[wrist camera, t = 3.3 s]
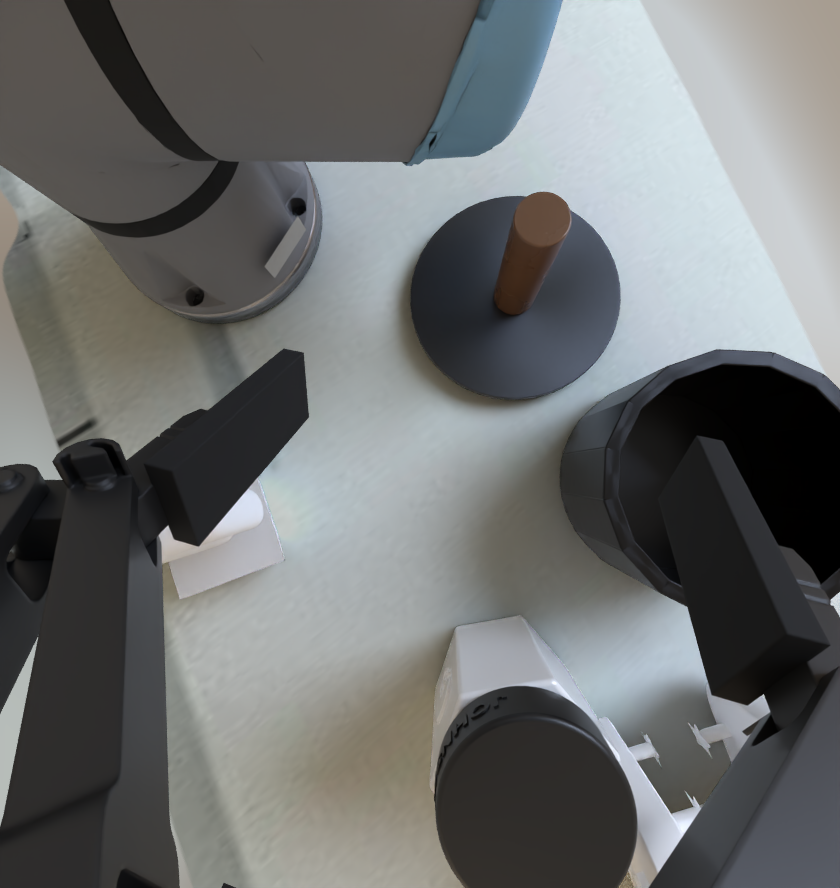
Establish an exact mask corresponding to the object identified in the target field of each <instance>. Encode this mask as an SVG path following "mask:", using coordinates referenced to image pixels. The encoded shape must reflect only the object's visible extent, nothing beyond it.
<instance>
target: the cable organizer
mask: <svg viewBox="0 0 840 888" xmlns="http://www.w3.org/2000/svg"><path fill="white" fill-rule="evenodd" d="M706 693H707V698H708V701H709V704H710V707H711V710H712V712H713V715H714V718H715V720H716V723H717V725H714V726H711V727H708V728H704V729H701V730H698V728H697V727H696V725H695V724H694V728H693V727H692V726H691V725H690V724H689V723H688V722H687V723H688V724H689V726H690V728H691V729H692V731H693V733H694V734H695V736H696V739H697V743H698V744H700V745H701V746H703V747H704V749H705V750H706V751H707V753H708V754H709V755H710V757H711V758H712V756H711V754H710V752H709V750H708V748H711V746H710V745H709V744H710V743H713V742H717V741H720V740H723V742H724V744H725V747H726V750H727V752H728V755H729V757H730V760H731V763H732V761H733V760H734V758H735V757H736V755H737V754H738V752H739V751H740V749H741V748H742V746H743V745H744V743H745V742H746V740H747V739H748V737H749V736H750V735H748V736H746V735H745V734H744V733H743V732H742V731H743V730H744V729H746V728H747V727H749V726H750V725H752V724H753V723H755V722H756V721H758V720H759V719H761V718H762V717H764V716H765V715H767V714H768V713H770V710H769V707H768V704H767V701H766V699H765V698H763V697H762V696H760V697H759V698H757V699H756V700H755V701H753V702H752V703H751V704H749V705H748V706H747V705H743V704H740V703H736V702H733V701H729V700H726V699H723V698H719V697H716V696H712V695H711V691H710V688H709V684H708V683H707V684H706ZM598 720H599V722H600V723H601V725H602V727H603V728H604V730H605V732H606V733H607V735H608V737H609V738H610V740H611V741H612V743H613V745H614V746H615V748H616V750H617V751H618V753H619V755H620V763H619V764H620V765H621V767H622V769H623V771H624V772H625V775H626V777H627V779H628V781H629V784H630V786H631V789H632V792H633V796H634V800H635V804H636V810H637V820H638V832H637V842H636V848H635V852H634V856H633V859H632V862H631V864H630V867H629V869H628V872H629V875H630V877H631V880H632V883H633V886H634V888H649V886H650V885H651V883H652V882H653V880H654V879H655V877H656V876H657V874H658V873H659V871H660V870H661V868H662V867H663V865H664V864H665V862H666V861H667V859H668V858H669V856H670V855H671V853H672V852H673V850H674V849H675V847H676V846H677V844H678V843H679V841H680V840H681V838H682V837H683V835H684V834H685V832H686V831H687V829H688V828H689V826H690V825H691V823H692V822H693V820H694V819H695V817H696V816H697V814H698V813H699V811H700V810H701V808H702V807H703V805H704V804H701V805H699V804H698V803H697V801H696V799H695V797H693V800H692V799H691V798H690V796H689V795H688V794H687V793H686V794H687V796H688V798H689V799H690V801H691V803H692V805H693V806H694V807H691V808H688V809H684V810H681V811H678V812H674V813H670V811H669V810H668V808H667V807H666V805H665V804H664V802H663V801H662V799H661V798H660V796H659V794H658V793H657V791H656V790H655V788H654V787H653V785H652V784H651V782H650V781H649V779H648V778H647V776H646V775H645V773H644V772H643V770H642V768H641V767H640V765H639V764H638V762H637V761H641V760H644V759H647V758H650V757H654V756H655V758H656V760H657V762H658V763H659V765H660V762H659V759H658V757H660V756H659V755H658V753H657V751H656V750H655V748H654V746H653V745H652V743H651V741H650V739H649V738H648V736H647V734H646V737H645V736H644V735H643V733H642V732H641V733H642V735H643V737H644V739H645V740H646V742H645V743H642V744H638V745H635V746H632V747H629V748H628V747H627V745H626V744H625V742H624V741H623V739H622V738H621V736H620V735H619V733H618V732H617V730H616V729H615V727H614V726H613V724H612V723H611V721H610V720H609V719H608V718H607V717H602V718H599V719H598ZM660 767H661V765H660ZM661 768H662V767H661ZM685 792H686V791H685Z"/></svg>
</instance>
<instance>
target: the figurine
mask: <svg viewBox="0 0 840 888" xmlns="http://www.w3.org/2000/svg"><path fill="white" fill-rule="evenodd" d="M159 538H160V541H161V544H162V564H163V563H166V562H168V564H169V567H170V570H171V573H172V576H173V579H174V582H175V586H176V589H177V592H178V595H179V598H180V600H181V599H184V598H187V597H189V596H192V595H195V594H197V593H200V592H202V591H205V590H208V589H210V588H213V587H216V586H218V585H221V584H224V583H226V582H229V581H232V580H234V579H237V578H240V577H242V576H245V575H248V574H250V573H253V572H255V571H258V570H261V569H263V568H266V567H269V566H271V565H274V564H277V563H279V562H282V561H285V558H284V555H283V551H282V547H281V543H280V539H279V536H278V533H277V530H276V527H275V524H274V521H273V519H272V516H271V513H270V510H269V507H268V504H267V501H266V498H265V495H264V492H263V489H262V487H261V484H260V481H259V478H257V479H256V480H255V481H254V482H253V484H252V485H251V486H250V487H249V488H248V489H247V491H246V492H245V493H244V494H243V495H242V497H241V498H240V499H239V500H238V501H237V502H236V504H235V505H234V506H233V507H232V508H231V509H230V511H229V512H228V513H227V514H226V515H225V517H224V518H223V519H222V520H221V521H220V522H219V524H218V525H217V526H216V527H215V528H214V530H213V531H212V532H211V533H210V534H209V535H208V537H207V538H206V539H205V540H204V541H203V543H202V544H201V545H200V546H199V547H198V546H194V545H191V544H187V543H184V542H180V541H177V540H174V539H173V536H172V534H171V531H170V529H169V526H167V527H166V528H165V529H164V530H163V531H162V532H161V533H160V534H159Z"/></svg>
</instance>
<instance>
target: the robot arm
mask: <svg viewBox="0 0 840 888" xmlns="http://www.w3.org/2000/svg"><path fill="white" fill-rule="evenodd" d="M562 1H563V0H0V165H1V166H3V167H4V168H6V169H7V170H9V171H10V172H11V173H13V174H14V175H16V176H17V177H19V178H20V179H22V180H23V181H25V182H26V183H28V184H29V185H31V186H32V187H33V188H35V189H36V190H38V191H39V192H41V193H42V194H44V195H45V196H47V197H48V198H50V199H51V200H53V201H54V202H55V203H57V204H58V205H60V206H61V207H63V208H64V209H66V210H68V211H69V212H70V213H72V214H73V215H75V216H76V217H78V218H79V219H80V220H82V221H83V222H85V223H86V224H87V225H88V226H89V227H90V229H91V230H92V231H93V233H94V234H95V235H96V236H97V238H98V239H99V240H100V242H101V243H102V244H103V246H104V247H105V248H106V250H107V251H108V252H109V253H110V255H111V256H112V257H113V259H114V260H115V261H116V263H117V264H118V265H119V267H120V268H121V269H122V270H123V272H124V273H125V274H126V276H127V277H128V278H129V279H130V280H131V281H132V283H133V284H134V285H135V286H136V287H137V288H138V289H139V290H140V291H141V292H142V293H144V294H145V295H146V296H147V297H149V298H150V299H152V300H153V301H155V302H156V303H158V304H160V305H161V306H163V307H165V308H167V309H168V310H170V311H172V312H174V313H175V314H177V315H180V316H182V317H184V318H188V319H191V320H194V321H199V322H205V323H230V322H236V321H241V320H245V319H248V318H251V317H254V316H256V315H259V314H261V313H263V312H265V311H267V310H269V309H270V308H272V307H273V306H275V305H276V304H278V303H279V302H280V301H282V300H283V299H284V298H285V297H287V296H288V295H289V294H290V293H291V292H292V291H293V290H294V289H295V287H296V286H297V285H298V284H299V283H300V281H301V280H302V279H303V277H304V276H305V274H306V273H307V271H308V269H309V268H310V266H311V264H312V261H313V259H314V257H315V254H316V251H317V249H318V245H319V241H320V236H321V229H322V211H321V204H320V198H319V195H318V191H317V188H316V186H315V183H314V181H313V178H312V176H311V174H310V172H309V170H308V167H307V165H306V163H305V162H402V163H403V164H405V165H406V166H412V165H413V164H420V163H421V162H422V161H424V160H425V159H439V158H455V157H472V156H478V155H480V154H482V153H485V152H486V151H488V150H491V149H492V148H493V147H494V146H496V145H498V144H500V143H501V142H502V141H503V140H504V139H505V138H506V137H507V136H508V135H509V134H510V132H511V131H512V130H513V128H514V127H515V126H516V124H517V122H518V120H519V119H520V117H521V115H522V113H523V111H524V109H525V107H526V105H527V103H528V101H529V99H530V97H531V94H532V91H533V89H534V86H535V84H536V81H537V79H538V76H539V74H540V71H541V68H542V65H543V63H544V60H545V56H546V53H547V50H548V47H549V44H550V41H551V38H552V35H553V32H554V28H555V25H556V22H557V18H558V15H559V11H560V8H561V4H562ZM308 418H309V413H308V401H307V388H306V376H305V363H304V353H302V352H298V351H293V350H288V349H283V350H281V351H280V352H279V353H278V354H276V355H275V356H274V357H273V358H272V359H270V360H269V361H268V362H267V363H265V364H264V365H263V366H262V367H261V368H259V369H258V370H257V371H256V372H254V373H253V374H252V375H251V376H250V377H248V378H247V379H246V380H245V381H243V382H242V383H241V384H240V385H239V386H237V387H236V388H235V389H234V390H232V391H231V392H230V393H229V394H228V395H226V396H225V397H224V398H223V399H221V400H220V401H219V402H218V403H217V404H215V405H214V406H213V407H212V408H210V409H209V410H203V409H199V410H197V411H194V412H192V413H190V414H187V415H185V416H183V417H182V418H180V419H179V420H178V421H177V422H175V423H174V424H173V425H171V427H170V429H169V428H168V429H166V430H165V431H164V432H162V433H161V434H160V437H158V436H157V437H156V438H155V439H153V440H152V441H151V442H150V443H148V444H147V445H146V446H144V447H143V448H142V449H141V450H139V451H138V452H137V453H136V454H134V455H133V456H132V457H130V458H129V459H128V460H127V461H126V459H125V457H124V454H123V452H122V450H121V447H120V445H119V444H118V443H117V442H115V441H113V440H110V439H104V438H100V439H89V440H85V441H81V442H77V443H75V444H73V445H71V446H69V447H66V448H65V449H64V450H62V451H61V452H60V453H58V454H57V455H56V457H55V459H54V460H53V464H54V466H55V467H56V469H57V471H58V473H59V474H60V476H61V478H62V479H63V480H44V479H43V477H42V476H41V474H40V472H39V471H38V469H37V468H36V467H34V466H32V465H28V464H15V465H8V466H4V467H0V713H1V711H2V709H3V707H4V705H5V703H6V701H7V698H8V696H9V694H10V693H11V690H12V688H13V686H14V684H15V682H16V680H17V678H18V676H19V674H20V672H21V670H22V668H23V666H24V664H25V662H26V659H27V658H28V656H29V654H30V652H31V649H32V647H33V645H34V643H35V641H36V639H37V637H38V642H37V647H36V652H35V657H34V662H33V667H32V672H31V677H30V682H29V687H28V693H27V698H26V703H25V708H24V713H23V718H22V724H21V728H20V734H19V739H18V744H17V749H16V754H15V759H14V764H13V769H12V774H11V780H10V785H9V790H8V795H7V800H6V805H5V810H4V815H3V819H2V822H1V826H0V888H180V886H179V868H178V857H177V851H176V846H175V842H174V838H173V835H172V831H171V826H170V816H169V787H168V753H167V718H166V683H165V648H164V614H163V579H162V544H161V541H160V538H159V534H160V533H161V532H162V531H163V530H164V529H165V528H166V527H167V526H169V529H170V531H171V534H172V536H173V539H174V540H177V541H180V542H184V543H187V544H191V545H194V546H198V547H199V546H200V545H201V544H202V543H203V541H204V540H205V539H206V538H207V537H208V535H209V534H210V533H211V532H212V531H213V530H214V528H215V527H216V526H217V525H218V524H219V522H220V521H221V520H222V519H223V518H224V517H225V515H226V514H227V513H228V512H229V511H230V509H231V508H232V507H233V506H234V505H235V504H236V502H237V501H238V500H239V499H240V498H241V497H242V495H243V494H244V493H245V492H246V491H247V489H248V488H249V487H250V486H251V485H252V484H253V482H254V481H255V480H256V479H257V478H258V476H259V475H260V474H261V473H262V472H263V471H264V469H265V468H266V467H267V466H268V465H269V464H270V462H271V461H272V460H273V459H274V458H275V456H276V455H277V454H278V453H279V452H280V451H281V449H282V448H283V447H284V446H285V445H286V443H287V442H288V441H289V440H290V439H291V438H292V436H293V435H294V434H295V433H296V432H297V430H298V429H299V428H300V427H301V426H302V425H303V423H304V422H305V421H306V420H307V419H308ZM658 500H659V504H660V508H661V511H662V515H663V519H664V522H665V526H666V530H667V533H668V537H669V541H670V544H671V548H672V552H673V555H674V559H675V563H676V566H677V570H678V574H679V577H680V581H681V585H682V588H683V592H684V596H685V599H686V603H687V607H688V611H689V614H690V618H691V622H692V625H693V629H694V633H695V636H696V640H697V644H698V647H699V651H700V655H701V658H702V662H703V666H704V669H705V673H706V677H707V680H708V684H709V688H710V691H711V695H712V696H716V697H719V698H723V699H726V700H729V701H733V702H736V703H740V704H743V705H747V706H748V705H749V704H751V703H752V702H753V701H755V700H756V699H757V698H759V697H760V696H762V695H763V694H764V696H765V699H766V701H767V704H768V707H769V710H770V713H768V714H767V715H765V716H764V717H762V718H761V719H759V720H758V721H756V722H755V723H753V724H752V725H750V726H749V727H747V728H746V729H744V730H743V731H742V732H743V733H744V734H745V735H746V736H748V735H750V736H749V737H748V739H747V740H746V742H745V743H744V745H743V746H742V748H741V749H740V751H739V752H738V754H737V755H736V757H735V758H734V760H733V761H732V763H731V764H730V766H729V767H728V769H727V770H726V772H725V773H724V775H723V776H722V778H721V779H720V781H719V782H718V784H717V785H716V787H715V788H714V790H713V791H712V793H711V794H710V796H709V797H708V799H707V801H706V802H705V804H704V805H703V807H702V808H701V810H700V811H699V813H698V814H697V816H696V817H695V819H694V820H693V822H692V823H691V825H690V826H689V828H688V829H687V831H686V832H685V834H684V835H683V837H682V838H681V840H680V841H679V843H678V844H677V846H676V847H675V849H674V850H673V852H672V853H671V855H670V856H669V858H668V859H667V861H666V862H665V864H664V865H663V867H662V868H661V870H660V871H659V873H658V874H657V876H656V877H655V879H654V880H653V882H652V883H651V885H650V886H649V888H840V617H839V615H838V613H837V612H836V610H835V608H834V606H831V605H830V603H831V601H830V600H829V598H828V596H827V594H826V593H825V591H824V590H822V589H821V587H822V586H821V584H820V582H819V580H818V579H817V577H816V575H815V573H814V572H813V570H812V568H811V567H810V566H809V565H808V564H807V563H806V562H805V561H804V560H803V559H802V558H801V557H800V556H799V555H798V554H797V553H796V552H795V551H794V550H793V549H791V548H787V547H783V546H778V544H777V542H776V540H775V538H774V537H773V535H772V533H771V531H770V529H769V527H768V525H767V523H766V521H765V519H764V518H763V516H762V514H761V512H760V510H759V508H758V506H757V504H756V502H755V500H754V499H753V497H752V495H751V493H750V491H749V489H748V487H747V485H746V483H745V482H744V480H743V478H742V476H741V474H740V472H739V470H738V468H737V466H736V464H735V463H734V461H733V459H732V457H731V455H730V453H729V451H728V449H727V447H726V446H725V444H724V442H723V441H721V440H716V439H711V438H707V437H702V436H696V437H695V439H694V441H693V442H692V444H691V446H690V447H689V449H688V450H687V452H686V454H685V455H684V457H683V459H682V460H681V462H680V463H679V465H678V467H677V468H676V470H675V472H674V473H673V475H672V476H671V478H670V480H669V481H668V483H667V485H666V486H665V488H664V489H663V491H662V493H661V494H660V496H659V498H658ZM10 550H11V551H10ZM9 552H10V553H9ZM38 635H39V636H38ZM222 888H235V887H233V886H230V885H228V884H225V883H223V886H222Z"/></svg>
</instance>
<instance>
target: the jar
mask: <svg viewBox="0 0 840 888" xmlns="http://www.w3.org/2000/svg"><path fill="white" fill-rule="evenodd" d="M619 763H620V755H619V753H618V751H617V750H616V748H615V746H614V745H613V743H612V741H611V740H610V738H609V737H608V735H607V733H606V732H605V730H604V728H603V727H602V725H601V723H600V722H599V720H598V718H597V717H596V715H595V713H594V712H593V710H592V709H591V707H590V705H589V704H588V702H587V700H586V699H585V697H584V695H583V694H582V692H581V690H580V689H579V687H578V685H577V684H576V682H575V681H574V679H573V677H572V676H571V674H570V672H569V671H568V669H567V667H566V666H565V665H564V664H563V662H562V661H561V660H560V659H559V658H558V657H557V656H556V654H555V653H554V652H553V651H552V650H551V649H550V647H549V646H548V645H547V644H546V643H545V642H544V640H543V639H542V638H541V637H540V636H539V635H538V634H537V632H536V631H535V630H534V629H533V628H532V627H531V625H530V624H529V623H528V622H527V621H526V620H525V618H524V617H523V616H521V615H518V616H512V617H507V618H501V619H495V620H490V621H484V622H479V623H473V624H467V625H462V626H458V627H456V628H455V631H454V634H453V637H452V640H451V643H450V646H449V649H448V652H447V655H446V658H445V661H444V664H443V667H442V670H441V673H440V676H439V679H438V682H437V685H436V688H435V702H434V719H433V735H432V752H431V768H430V789H431V791H432V792H433V793H434V801H435V811H436V824H437V831H438V835H439V840H440V843H441V846H442V850H443V852H444V855H445V857H446V859H447V861H448V863H449V865H450V867H451V869H452V870H453V872H454V874H455V875H456V877H457V878H458V879H459V881H460V882H461V883H462V885H463V886H464V887H465V888H618V887H619V885H620V884H621V882H622V881H623V879H624V877H625V876H626V873H627V871H628V869H629V867H630V864H631V862H632V859H633V856H634V852H635V848H636V842H637V832H638V820H637V810H636V804H635V800H634V796H633V792H632V789H631V786H630V784H629V781H628V779H627V777H626V775H625V772H624V771H623V769H622V767H621V765H620V764H619Z"/></svg>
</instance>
